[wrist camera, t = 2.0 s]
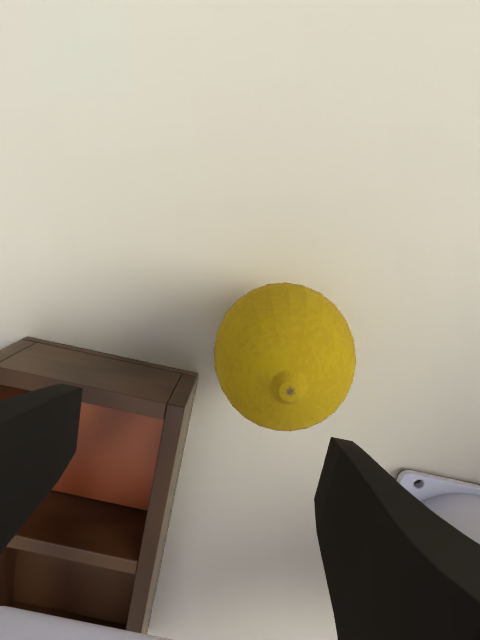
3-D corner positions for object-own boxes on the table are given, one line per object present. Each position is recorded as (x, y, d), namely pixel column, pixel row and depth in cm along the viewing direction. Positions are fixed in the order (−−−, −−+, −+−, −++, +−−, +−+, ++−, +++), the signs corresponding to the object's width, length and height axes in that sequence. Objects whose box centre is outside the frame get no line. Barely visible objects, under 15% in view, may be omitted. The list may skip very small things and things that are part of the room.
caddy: (199, 373, 21) (185, 407, 17) (147, 630, 25) (127, 705, 21) (26, 336, 21) (-26, 361, 17) (3, 600, 25) (-43, 668, 21)
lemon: (343, 367, 21) (393, 455, 13) (236, 388, 21) (223, 484, 13) (323, 260, 19) (366, 286, 12) (211, 285, 20) (181, 325, 12)
